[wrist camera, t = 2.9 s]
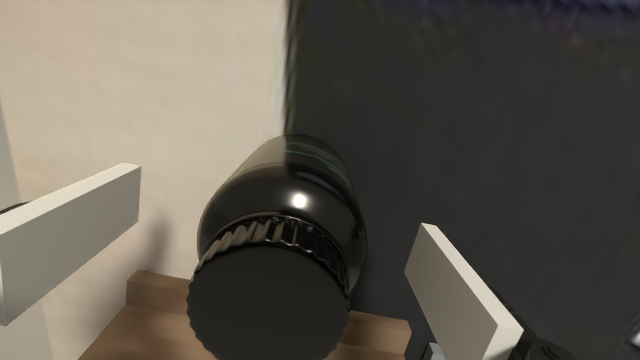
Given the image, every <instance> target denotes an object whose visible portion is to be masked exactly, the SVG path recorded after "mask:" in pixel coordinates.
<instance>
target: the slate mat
mask: <svg viewBox="0 0 640 360" xmlns="http://www.w3.org/2000/svg"><path fill="white" fill-rule="evenodd" d="M422 360H445V357H444V355H443V353H442V351H441V349H440V347H439V345H438V344H435V343H430V342H429V344H428V346H427V349H426V351H425V353H424V356H423V358H422Z"/></svg>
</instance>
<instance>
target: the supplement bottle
mask: <svg viewBox="0 0 640 360" xmlns="http://www.w3.org/2000/svg"><path fill="white" fill-rule="evenodd" d="M197 252H198V258H199V264H198V265H197V267H196V268H195V271H194V275H193V277H192V278H191V280H190V281H189V285H188V289H189V292H188V294H187V296H186V302H187V305H188V307H187V310H186V313H187V315H188V317H189V319H190V327H191V328H192V329H193V330H194V332H195V336H196V339H198V340H199V341H200V342H201V343H202V344H203V346H204V348H205V349H206V350H207V351H209V352H211V353H212V354H213V355H214V357H215V358H216V359H218V360H323V359H326V358H327V356H328V355H329V353H330V352H332V351H333V350H335V349H336V348H337V345H338V342H339V341H341V340H342V339H343V338H344V330H345V329H346V328H347V327H348V325H349V314H350V312H351V303H350V292H351V291H352V289H353V288H354V286H355V285H356V283H357V282H358V280H359V278H360V276H361V274H362V271H363V268H364V265H365V261H366V256H367V234H366V228H365V224H364V220H363V217H362V213H361V210H360V207H359V204H358V201H357V198H356V195H355V192H354V189H353V186H352V182H351V179H350V176H349V173H348V171H347V168H346V166H345V164H344V162H343V161H342V159H341V157H340V156H339V155H338V154H337V152H336V151H335V150H334V149H333V148H331V147H330V146H329V145H328V144H326V143H325V142H323V141H321V140H319V139H317V138H314V137H311V136H308V135H302V134H288V135H283V136H279V137H276V138H273V139H271V140H269V141H267V142H266V143H264V144H263V145H261V146H260V147H259V148H258V149H257V150H256V151H255V152H254V153H253V154H252V155H251V156H250V157H249V158H248V159H247V160H246V161H245V162H244V163H243V164H242V165H241V166H240V167H239V168H238V169H237V170H236V171H235V172H234V173H233V174H232V175H231V176H230V177H229V178H228V180H227V181H226V182H225V183H224V184H223V185H222V186H221V187H220V188H219V189H218V190H217V191H216V193H215V194H214V195H213V197H212V198H211V199H210V201H209V202H208V204H207V206H206V207H205V209H204V211H203V214H202V216H201V219H200V223H199V226H198V232H197Z"/></svg>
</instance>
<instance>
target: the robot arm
mask: <svg viewBox="0 0 640 360" xmlns="http://www.w3.org/2000/svg"><path fill="white" fill-rule="evenodd" d="M140 179H141V166H138V165H134V164H129V163H121V164H119V165H116V166H114V167H112V168H109V169H107V170H105V171H102V172H100V173H98V174H95V175H93V176H91V177H88V178H86V179H83V180H81V181H79V182H76V183H74V184H72V185H69V186H67V187H65V188H62V189H60V190H58V191H55V192H53V193H50V194H48V195H46V196H43V197H41V198H39V199H36V200H34V201H29V202H25V203H20V204H16V205H13V206H11V207H8V208H6V209H4V210H1V211H0V325H2V326H7V325H8V324H9V323H11V322H12V321H13V320H14V319H16V318H17V317H18V316H19V315H21V314H22V313H23V312H24V311H26V310H27V309H28V308H29V307H31V306H32V305H33V304H34V303H35V302H37V301H38V300H40V299H41V298H42V297H43V296H45V295H46V294H47V293H48V292H50V291H51V290H52V289H53V288H55V287H56V286H57V285H58V284H60V283H61V282H62V281H64V280H65V279H66V278H67V277H69V276H70V275H71V274H72V273H74V272H75V271H76V270H77V269H79V268H80V267H81V266H82V265H84V264H85V263H86V262H87V261H89V260H90V259H91V258H93V257H94V256H95V255H96V254H98V253H99V252H100V251H101V250H103V249H104V248H105V247H106V246H108V245H109V244H110V243H111V242H113V241H114V240H115V239H116V238H118V237H119V236H120V235H122V234H123V233H124V232H125V231H127V230H128V229H129V228H130V227H132V226H133V225H134V224H135V223H137V222H138V213H139V196H140ZM404 272H405V275H406V277H407V279H408V281H409V283H410V285H411V287H412V289H413V292H414V294H415V296H416V298H417V300H418V302H419V304H420V306H421V309H422V311H423V313H424V315H425V317H426V319H427V321H428V323H429V326H430V328H431V330H432V332H433V334H434V336H435V338H436V340H437V343H438V345H439V347H440V349H441V351H442V353H443V355H444V357H445V360H578V359H576V358H575V357H574V356H573V355H572V354H571V353H569V352H568V351H566V350H565V349H563V348H561V347H560V346H558V345H556V344H554V343H552V342H549V341H546V340H542V339H539V338H538V337H537V336H536V335H535V334H534V332H533V331H532V330H531V329H530V328H529V327H528V326H527V324H526V323H525V322H524V321H523V320H522V319H521V318H520V316H519V315H517V314H516V312H515V311H514V309H513V308H512V307H511V306H509V304H508V303H507V301H506V300H505V299H504V298H503V297H502V296H501V295H500V294H499V293H498V292H497V291H495V290H494V289H493V288H491V287H490V286H489V285H486V284H485V283H484V282H483V281H482V280H481V278H480V277H479V276H478V275H477V274H476V272H475V271H474V270H473V269H472V268H471V267H470V265H469V264H468V263H467V262H466V261H465V259H464V258H463V257H462V256H461V255H460V253H459V252H458V251H457V250H456V249H455V248H454V246H453V245H452V244H451V243H450V242H449V240H448V239H447V238H446V237H445V236H444V234H443V233H442V232H441V231H440V230H439V229H438V227H437V226H434V225H429V224H425V223H421V225H420V227H419V230H418V233H417V236H416V239H415V242H414V245H413V248H412V250H411V253H410V256H409V259H408V262H407V265H406V268H405V271H404Z"/></svg>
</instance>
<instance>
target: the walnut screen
mask: <svg viewBox="0 0 640 360" xmlns="http://www.w3.org/2000/svg"><path fill="white" fill-rule="evenodd" d="M189 281H190V280H186V279H181V278H176V277H170V276H165V275H160V274H154V273H149V272H143V271H138V270H137V271H136V272H135V273H134V274H133V275H132V276H131V277H130V278H129V279H128V280H127V294H126V305H125V306H124V308H123V309H122V310H121V311H120V312H119V313H118V314H117V316H116V317H115V318H114V319H113V320H112V321H111V322H110V324H109V325H108V326H107V327H106V328H105V329H104V330H103V332H102V333H101V334H100V335H99V336H98V337H97V338H96V340H95V341H94V342H93V343H92V344H91V345H90V346H89V348H88V349H87V350H86V351H85V352H84V353H83V354H82V356H81V357H80V358H79V359H78V360H218V359H216V358H215V357H214V355H213V354H212V353H211V352H209V351H207V350H206V349H205V348H204V346H203V344H202V343H201V342H200V341H199V340H198V339H196V336H195V332H194V330H193V329H192V328H191V327H190V319H189V317H188V315H187V313H186V310H187V307H188V305H187V302H186V296H187V294H188V292H189V289H188V285H189ZM411 333H412V332H411V330H410V327H409V324H408V322H407V321H406V320H400V319H395V318H390V317H384V316H379V315H374V314H368V313H363V312H358V311H352V310H351V312H350V314H349V325H348V327H347V328H346V329H345V330H344V338H343V339H342V340H341V341H339V342H338V345H337V348H336V349H335V350H333V351H332V352H330V353H329V355H328V356H327V358H326V359H323V360H405V358H404V355H403V354H404V352H405V349H406V347H407V344H408V341H409V339H410V336H411Z"/></svg>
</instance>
